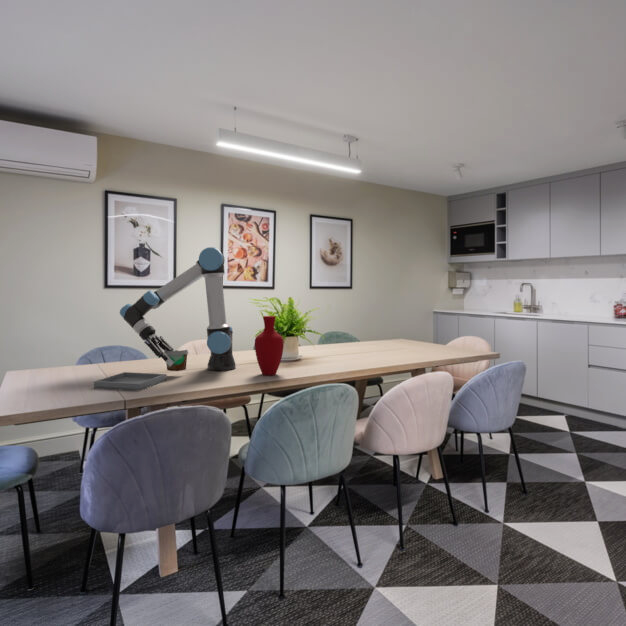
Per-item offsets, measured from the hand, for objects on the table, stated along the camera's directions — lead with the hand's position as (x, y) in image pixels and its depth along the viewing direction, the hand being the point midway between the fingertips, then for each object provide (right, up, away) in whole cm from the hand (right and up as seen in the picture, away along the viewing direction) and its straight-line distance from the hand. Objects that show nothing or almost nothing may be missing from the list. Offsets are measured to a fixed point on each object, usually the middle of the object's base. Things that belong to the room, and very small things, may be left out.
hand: (175, 363), depth 220 cm
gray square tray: (-14, -7, -18) cm, 24 cm away
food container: (-1, -4, 0) cm, 4 cm away
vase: (+46, -7, +8) cm, 47 cm away
